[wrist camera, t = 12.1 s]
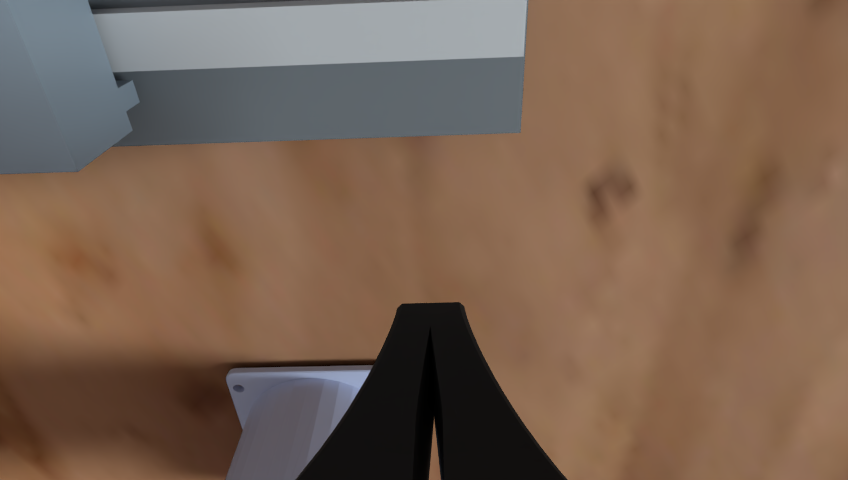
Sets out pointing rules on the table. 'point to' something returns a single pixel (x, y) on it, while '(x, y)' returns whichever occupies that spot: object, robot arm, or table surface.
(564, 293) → the table surface
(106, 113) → the carriage
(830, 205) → the table surface
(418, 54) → the rail base
